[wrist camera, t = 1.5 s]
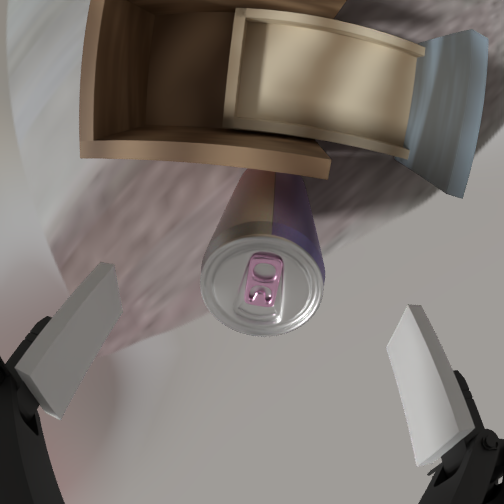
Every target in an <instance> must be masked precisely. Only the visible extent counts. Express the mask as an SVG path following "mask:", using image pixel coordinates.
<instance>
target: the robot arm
mask: <svg viewBox="0 0 504 504" xmlns="http://www.w3.org/2000/svg"><path fill="white" fill-rule="evenodd" d="M122 313H123V309H122V304H121V299H120V294H119V288H118V282H117V276H116V270H115V265H114V264H109V263H104V262H100V263H99V264H98V265H97V266H96V268H95V269H94V270H93V271H92V272H91V273H90V274H89V275H88V276H87V277H86V279H85V280H84V281H83V282H82V283H81V284H80V285H79V286H78V288H77V289H76V290H75V291H74V292H73V293H72V295H71V296H70V297H69V298H68V299H67V301H66V302H65V303H64V304H63V305H62V306H61V308H60V309H59V310H58V311H57V312H56V314H55V315H54V316H53V317H49V316H47V317H45V318H43V319H42V320H40V321H39V322H38V323H37V324H36V325H35V326H34V327H33V329H32V330H31V331H30V333H29V334H28V335H27V336H26V337H25V340H23V341H22V342H21V344H20V345H19V347H18V348H17V349H16V351H15V352H14V353H13V354H12V356H11V357H10V358H9V360H8V361H7V363H6V364H4V362H3V361H2V359H1V357H0V504H65V503H64V501H63V498H62V495H61V492H60V490H59V487H58V484H57V481H56V478H55V475H54V472H53V469H52V465H51V462H50V459H49V455H48V451H47V448H46V444H45V440H44V436H43V431H42V427H41V422H40V417H39V414H38V411H37V408H38V406H39V405H40V406H41V407H42V409H43V410H44V411H45V413H47V414H49V415H51V416H53V417H55V418H57V419H59V420H61V419H62V417H63V415H64V413H65V411H66V409H67V407H68V405H69V403H70V401H71V399H72V398H73V396H74V394H75V392H76V390H77V389H78V387H79V385H80V383H81V381H82V380H83V378H84V376H85V374H86V372H87V371H88V369H89V367H90V365H91V364H92V362H93V360H94V359H95V357H96V355H97V353H98V352H99V350H100V348H101V347H102V345H103V343H104V342H105V340H106V338H107V337H108V335H109V333H110V332H111V330H112V329H113V327H114V325H115V324H116V322H117V321H118V319H119V317H120V316H121V314H122ZM386 349H387V352H388V355H389V358H390V362H391V365H392V368H393V371H394V375H395V378H396V382H397V385H398V389H399V393H400V396H401V400H402V404H403V408H404V412H405V416H406V419H407V424H408V428H409V433H410V437H411V442H412V446H413V451H414V456H415V460H416V466H422V465H427V464H432V463H433V462H435V461H436V460H437V459H439V458H440V457H441V458H442V463H441V464H439V465H438V466H437V467H435V468H434V469H432V470H431V471H430V472H429V473H428V474H427V475H431V474H432V473H434V472H435V471H436V472H435V474H434V476H433V477H432V480H431V482H430V484H429V485H428V487H427V489H426V491H425V493H424V495H423V496H422V498H421V500H420V502H419V503H418V504H504V439H499V438H498V436H497V435H496V433H494V432H493V431H492V430H489V429H485V428H484V426H483V423H482V420H481V418H480V415H479V412H478V410H477V407H476V405H475V402H474V400H473V399H472V395H471V392H470V391H469V388H468V385H467V383H466V380H465V379H464V377H463V376H462V375H461V374H460V373H459V371H458V370H455V371H453V370H452V368H451V365H450V363H449V361H448V359H447V357H446V354H445V352H444V350H443V348H442V346H441V344H440V342H439V340H438V337H437V336H436V333H435V331H434V329H433V327H432V326H431V323H430V321H429V319H428V318H427V316H426V314H425V312H424V310H423V308H422V306H420V305H409V304H408V305H407V307H406V309H405V311H404V313H403V316H402V318H401V320H400V322H399V324H398V326H397V328H396V330H395V332H394V334H393V335H392V337H391V339H390V341H389V343H388V345H387V347H386ZM502 476H503V480H502V483H500V484H498V479H499V478H501V477H502Z"/></svg>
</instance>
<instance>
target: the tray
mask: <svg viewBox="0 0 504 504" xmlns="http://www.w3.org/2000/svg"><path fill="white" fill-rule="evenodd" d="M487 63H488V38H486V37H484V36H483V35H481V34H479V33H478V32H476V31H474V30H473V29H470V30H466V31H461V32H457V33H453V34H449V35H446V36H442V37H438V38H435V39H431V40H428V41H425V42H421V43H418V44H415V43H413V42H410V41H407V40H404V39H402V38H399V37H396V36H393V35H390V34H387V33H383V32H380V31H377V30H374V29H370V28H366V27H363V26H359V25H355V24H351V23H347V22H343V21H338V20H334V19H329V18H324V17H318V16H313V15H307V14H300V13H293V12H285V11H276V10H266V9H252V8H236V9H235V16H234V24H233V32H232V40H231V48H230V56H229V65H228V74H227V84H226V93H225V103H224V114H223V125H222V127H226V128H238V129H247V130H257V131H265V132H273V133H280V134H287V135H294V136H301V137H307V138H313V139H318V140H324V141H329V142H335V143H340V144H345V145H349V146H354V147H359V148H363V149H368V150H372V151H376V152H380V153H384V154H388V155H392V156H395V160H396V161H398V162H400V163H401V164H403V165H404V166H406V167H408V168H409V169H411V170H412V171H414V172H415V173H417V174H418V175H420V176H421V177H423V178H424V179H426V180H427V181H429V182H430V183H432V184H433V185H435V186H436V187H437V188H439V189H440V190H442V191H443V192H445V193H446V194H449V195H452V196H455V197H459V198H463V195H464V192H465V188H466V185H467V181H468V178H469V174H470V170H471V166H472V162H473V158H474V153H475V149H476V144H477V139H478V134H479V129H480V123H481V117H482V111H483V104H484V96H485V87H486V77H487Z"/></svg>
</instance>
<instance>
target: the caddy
mask: <svg viewBox="0 0 504 504" xmlns="http://www.w3.org/2000/svg"><path fill="white" fill-rule="evenodd" d="M346 1H347V0H91V1H90V6H89V12H88V17H87V24H86V30H85V38H84V46H83V55H82V66H81V80H80V104H79V137H80V158H105V159H140V160H160V161H176V162H190V163H202V164H213V165H223V166H233V167H242V168H250V169H258V170H266V171H273V172H281V173H288V174H294V175H301V176H307V177H313V178H319V179H325V180H328V176H329V170H330V165H331V159H330V158H329V156H328V155H327V154H326V153H325V152H324V150H323V149H322V148H321V147H320V146H319V144H318V143H317V142H316V141H315V139H313V138H307V137H301V136H294V135H287V134H280V133H273V132H265V131H257V130H247V129H238V128H226V127H222V125H223V114H224V103H225V93H226V84H227V74H228V65H229V56H230V48H231V40H232V32H233V24H234V16H235V9H236V8H252V9H266V10H276V11H285V12H293V13H300V14H307V15H313V16H318V17H324V18H329V19H334V18H335V16H336V15H337V13H338V12H339V11H340V9H341V8H342V6H343V5H344V3H345V2H346Z"/></svg>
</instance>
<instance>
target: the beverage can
mask: <svg viewBox="0 0 504 504" xmlns="http://www.w3.org/2000/svg"><path fill="white" fill-rule="evenodd" d="M324 281H325V267H324V263H323V258H322V254H321V249H320V245H319V241H318V236H317V232H316V228H315V224H314V220H313V215H312V211H311V207H310V204H309V200H308V196H307V192H306V188H305V184H304V181H303V179H302V177H301V176H300V175H294V174H288V173H281V172H273V171H266V170H258V169H250V168H248V169H247V170H246V171H245V172H244V173H243V175H242V176H241V178H240V180H239V182H238V184H237V186H236V188H235V190H234V192H233V194H232V197H231V199H230V201H229V203H228V205H227V207H226V209H225V211H224V213H223V215H222V217H221V220H220V222H219V224H218V226H217V228H216V230H215V232H214V234H213V237H212V239H211V241H210V243H209V245H208V247H207V250H206V252H205V254H204V257H203V260H202V266H201V277H200V290H201V295H202V298H203V301H204V303H205V305H206V307H207V308H208V310H209V311H210V312H211V314H212V315H213V316H214V317H215V318H216V319H217V320H218V321H220V322H221V323H222V324H224V325H225V326H227V327H229V328H231V329H233V330H235V331H237V332H240V333H243V334H247V335H252V336H261V337H262V336H263V337H266V336H277V335H282V334H285V333H288V332H291V331H293V330H295V329H297V328H299V327H301V326H302V325H303V324H305V323H306V322H307V321H308V320H309V319H310V318H311V317H312V316H313V315H314V314H315V312H316V311H317V309H318V308H319V305H320V303H321V300H322V297H323V286H324Z"/></svg>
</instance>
